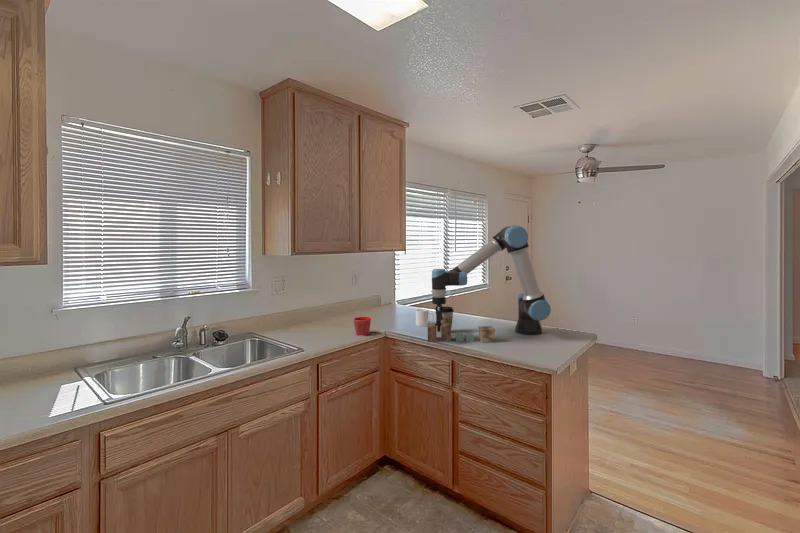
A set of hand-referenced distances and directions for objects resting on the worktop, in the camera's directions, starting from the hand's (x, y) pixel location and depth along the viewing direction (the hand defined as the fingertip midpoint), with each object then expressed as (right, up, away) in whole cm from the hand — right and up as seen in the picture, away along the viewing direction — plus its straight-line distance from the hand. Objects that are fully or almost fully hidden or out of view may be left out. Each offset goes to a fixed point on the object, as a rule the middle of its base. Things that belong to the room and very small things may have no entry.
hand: (439, 334), depth 215 cm
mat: (0, -3, 0) cm, 3 cm away
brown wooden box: (0, -3, 0) cm, 3 cm away
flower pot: (-45, -3, +17) cm, 48 cm away
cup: (-6, -1, +36) cm, 37 cm away
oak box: (+26, -3, -4) cm, 26 cm away
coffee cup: (+6, -2, +17) cm, 18 cm away
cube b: (+11, -3, -1) cm, 12 cm away
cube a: (+17, -3, -2) cm, 17 cm away
